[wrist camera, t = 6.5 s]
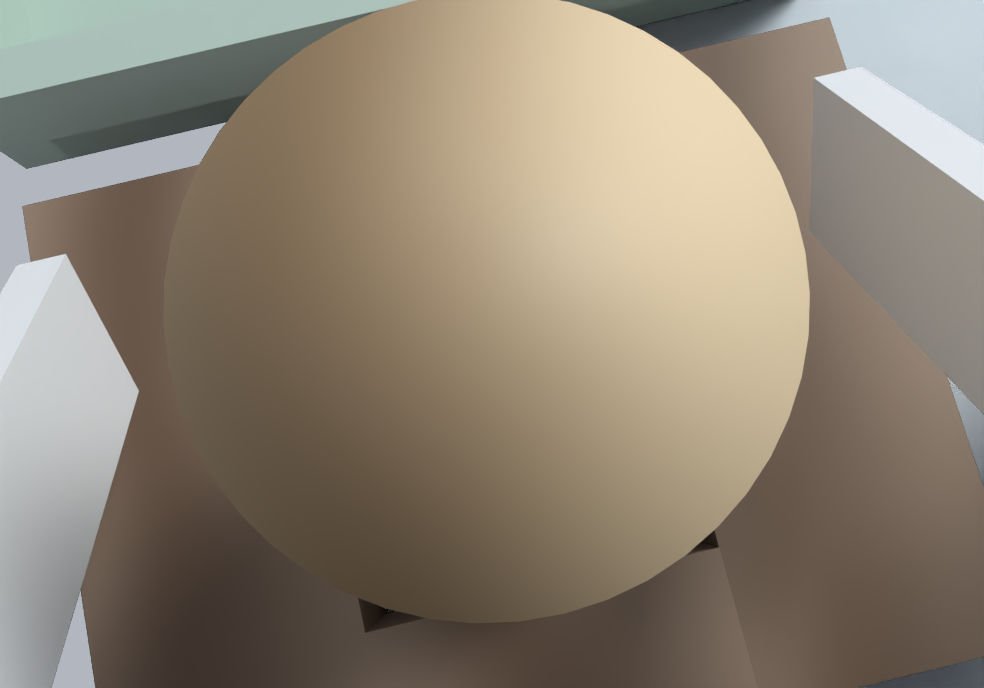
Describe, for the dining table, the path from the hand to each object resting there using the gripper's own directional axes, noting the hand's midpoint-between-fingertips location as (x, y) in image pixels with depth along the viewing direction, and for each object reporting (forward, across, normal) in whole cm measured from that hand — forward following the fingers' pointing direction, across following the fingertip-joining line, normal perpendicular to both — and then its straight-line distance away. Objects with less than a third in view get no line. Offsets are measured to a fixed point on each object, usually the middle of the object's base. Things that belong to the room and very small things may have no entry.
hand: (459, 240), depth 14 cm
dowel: (+2, 0, -5) cm, 6 cm away
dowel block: (+2, 0, -5) cm, 6 cm away
